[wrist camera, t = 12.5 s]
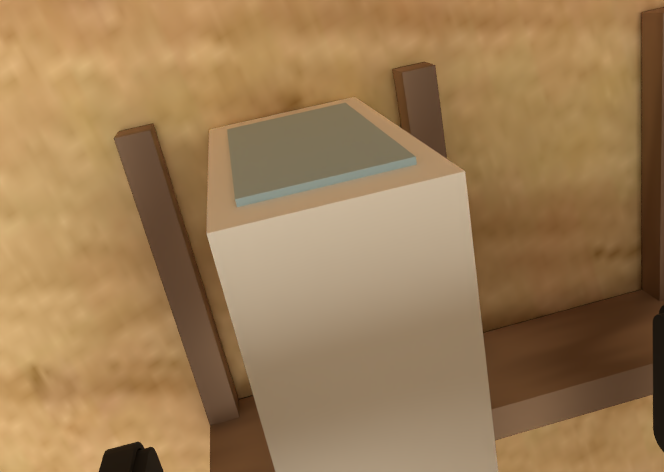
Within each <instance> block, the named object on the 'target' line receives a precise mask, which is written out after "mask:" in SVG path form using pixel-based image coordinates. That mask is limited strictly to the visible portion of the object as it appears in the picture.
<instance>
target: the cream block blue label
mask: <svg viewBox="0 0 664 472" xmlns="http://www.w3.org/2000/svg"><path fill="white" fill-rule="evenodd" d="M206 234H207V237H208V241H209V244H210V248H211V251H212V255H213V258H214V262H215V265H216V268H217V272H218V275H219V279H220V282H221V286H222V289H223V293H224V296H225V300H226V303H227V306H228V310H229V313H230V317H231V320H232V324H233V327H234V331H235V334H236V338H237V341H238V344H239V348H240V351H241V355H242V358H243V362H244V365H245V369H246V372H247V376H248V379H249V382H250V386H251V389H252V393H253V396H254V400H255V403H256V407H257V410H258V414H259V417H260V420H261V424H262V427H263V431H264V434H265V438H266V441H267V445H268V448H269V452H270V455H271V458H272V462H273V465H274V469H275V472H498V464H497V455H496V446H495V437H494V428H493V419H492V410H491V401H490V392H489V383H488V374H487V365H486V356H485V347H484V338H483V329H482V320H481V310H480V301H479V292H478V283H477V274H476V265H475V256H474V247H473V238H472V229H471V220H470V211H469V202H468V193H467V184H466V175H465V171H464V170H463V169H461V168H460V167H458V166H457V165H455V164H454V163H452V162H451V161H449V160H448V159H446V158H445V157H443V156H442V155H440V154H439V153H437V152H436V151H434V150H433V149H432V148H430V147H429V146H427V145H426V144H424V143H423V142H421V141H420V140H418V139H417V138H415V137H414V136H412V135H411V134H409V133H408V132H406V131H405V130H403V129H402V128H400V127H399V126H397V125H396V124H394V123H393V122H391V121H390V120H389V119H387V118H386V117H384V116H383V115H381V114H380V113H378V112H377V111H375V110H374V109H372V108H371V107H369V106H368V105H366V104H365V103H363V102H362V101H360V100H359V99H357V98H356V97H351V98H346V99H342V100H338V101H333V102H329V103H324V104H320V105H315V106H311V107H307V108H302V109H298V110H293V111H289V112H284V113H280V114H275V115H271V116H267V117H262V118H258V119H253V120H249V121H244V122H240V123H235V124H231V125H227V126H222V127H218V128H213V129H209V153H208V192H207V230H206Z"/></svg>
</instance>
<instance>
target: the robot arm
mask: <svg viewBox="0 0 664 472" xmlns="http://www.w3.org/2000/svg"><path fill="white" fill-rule="evenodd" d="M653 430H654V436H655V439H656V441H657V443H658V445H659V447H660V448H661V449H662V451H663V452H664V305H663V306H661V308H660V310H659V314H657V315H656V316H654V318H653ZM99 472H163V469H162V466H161V464H160V461H159V459H158V456H157V453H156V451H155V449H154V448H153V447H149V448H146V449H144V447H143V445H142V444H141V443H140V442H135V443H131V444H127V445H124V446H120V447H116V448H112V449H108V450H107V451H105V453H104V455H103V459H102V462H101V466H100V469H99Z"/></svg>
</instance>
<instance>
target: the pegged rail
mask: <svg viewBox="0 0 664 472" xmlns="http://www.w3.org/2000/svg"><path fill="white" fill-rule="evenodd" d="M393 74H394V81H395V87H396V94H397V100H398V107H399V114H400V120H401V127H402V129H403V130H405V131H406V132H408V133H409V134H411V135H412V136H414V137H415V138H417V139H418V140H420V141H421V142H423V143H424V144H426V145H427V146H429V147H430V148H432V149H433V150H434V151H436V152H437V153H439V154H440V155H442V156H443V157H445V158H446V159H447V156H446V148H445V140H444V132H443V124H442V116H441V108H440V100H439V92H438V84H437V76H436V68H435V65H433V64H430V63H426V62H422V63H417V64H413V65H409V66H404V67H400V68H395V69H393ZM114 140H115V143H116V146H117V149H118V152H119V155H120V158H121V161H122V164H123V167H124V170H125V173H126V176H127V179H128V182H129V185H130V188H131V191H132V194H133V197H134V200H135V203H136V206H137V209H138V212H139V215H140V218H141V221H142V224H143V227H144V230H145V233H146V236H147V239H148V242H149V245H150V248H151V251H152V253H153V256H154V259H155V262H156V265H157V268H158V271H159V274H160V277H161V280H162V283H163V286H164V289H165V292H166V295H167V298H168V301H169V304H170V307H171V310H172V313H173V316H174V319H175V322H176V325H177V328H178V331H179V334H180V337H181V340H182V343H183V346H184V349H185V352H186V355H187V358H188V361H189V364H190V367H191V369H192V372H193V375H194V378H195V381H196V384H197V387H198V390H199V393H200V396H201V399H202V402H203V405H204V408H205V411H206V414H207V417H208V420H209V423H210V472H275V469H274V465H273V462H272V458H271V455H270V452H269V448H268V445H267V441H266V438H265V434H264V431H263V427H262V424H261V420H260V417H259V414H258V410H257V407H256V403H255V400H254V396H250V397H247V398H243V399H240V400H238V397H237V394H236V391H235V388H234V384H233V381H232V378H231V375H230V371H229V368H228V365H227V362H226V358H225V355H224V352H223V349H222V345H221V342H220V339H219V336H218V332H217V329H216V326H215V323H214V319H213V316H212V313H211V310H210V306H209V303H208V300H207V297H206V294H205V290H204V287H203V284H202V281H201V277H200V274H199V271H198V268H197V264H196V261H195V258H194V255H193V251H192V248H191V245H190V242H189V238H188V235H187V232H186V229H185V225H184V222H183V219H182V216H181V212H180V209H179V206H178V203H177V199H176V196H175V193H174V190H173V186H172V183H171V180H170V177H169V173H168V170H167V167H166V164H165V161H164V157H163V154H162V151H161V148H160V144H159V141H158V138H157V135H156V131H155V128H154V125H153V124H149V125H145V126H140V127H136V128H132V129H127V130H123V131H119V132H118V133H117V135H116V136H115V138H114ZM663 305H664V7H663V8H659V9H655V10H650V11H646V12H642V290H638V291H635V292H631V293H627V294H624V295H620V296H616V297H613V298H609V299H605V300H602V301H598V302H594V303H591V304H587V305H583V306H580V307H576V308H572V309H569V310H565V311H561V312H558V313H554V314H550V315H547V316H543V317H539V318H536V319H532V320H528V321H525V322H521V323H518V324H514V325H510V326H507V327H503V328H499V329H496V330H492V331H488V332H485V333H483V338H484V347H485V356H486V365H487V374H488V383H489V392H490V401H491V410H492V419H493V428H494V437H495V440H498V439H501V438H505V437H508V436H512V435H515V434H518V433H522V432H525V431H529V430H532V429H536V428H539V427H543V426H546V425H549V424H553V423H556V422H560V421H563V420H567V419H570V418H573V417H577V416H580V415H584V414H587V413H591V412H594V411H597V410H601V409H604V408H608V407H611V406H615V405H618V404H621V403H625V402H628V401H632V400H635V399H639V398H642V397H646V396H649V395H652V394H653V318H654V316H656V315H657V314H659V310H660V308H661V306H663Z"/></svg>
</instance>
